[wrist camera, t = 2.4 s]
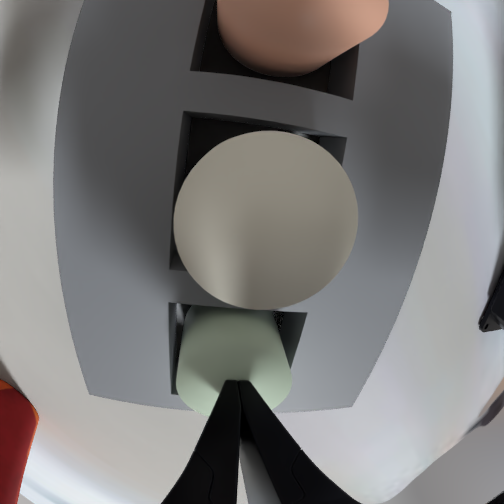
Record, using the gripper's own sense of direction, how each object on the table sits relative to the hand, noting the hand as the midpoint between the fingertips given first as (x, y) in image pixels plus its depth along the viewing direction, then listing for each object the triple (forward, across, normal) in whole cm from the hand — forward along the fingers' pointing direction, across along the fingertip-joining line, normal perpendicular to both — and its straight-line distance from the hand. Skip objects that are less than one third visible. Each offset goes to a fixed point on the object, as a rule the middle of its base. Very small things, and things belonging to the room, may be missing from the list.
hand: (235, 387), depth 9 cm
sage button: (+3, 0, 0) cm, 3 cm away
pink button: (+2, 0, -12) cm, 12 cm away
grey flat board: (+4, 0, -6) cm, 7 cm away
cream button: (+2, 0, -6) cm, 6 cm away
